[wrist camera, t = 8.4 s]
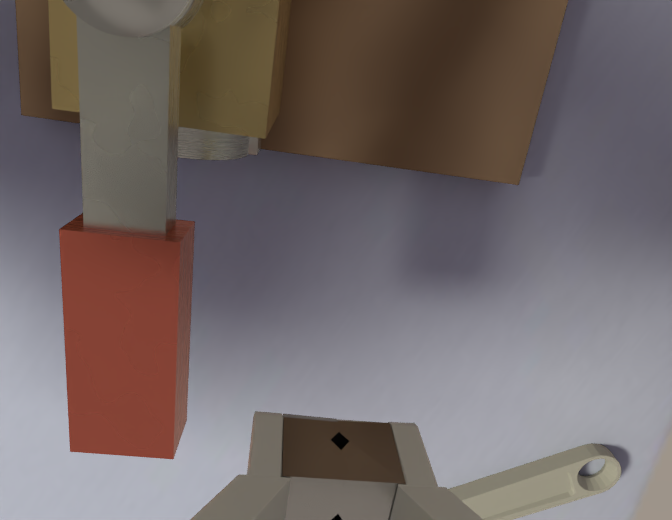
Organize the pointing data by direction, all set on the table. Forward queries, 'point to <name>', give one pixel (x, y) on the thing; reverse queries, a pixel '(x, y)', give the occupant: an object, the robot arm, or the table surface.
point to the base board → (385, 81)
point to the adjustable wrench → (539, 484)
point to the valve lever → (128, 234)
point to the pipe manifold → (204, 74)
